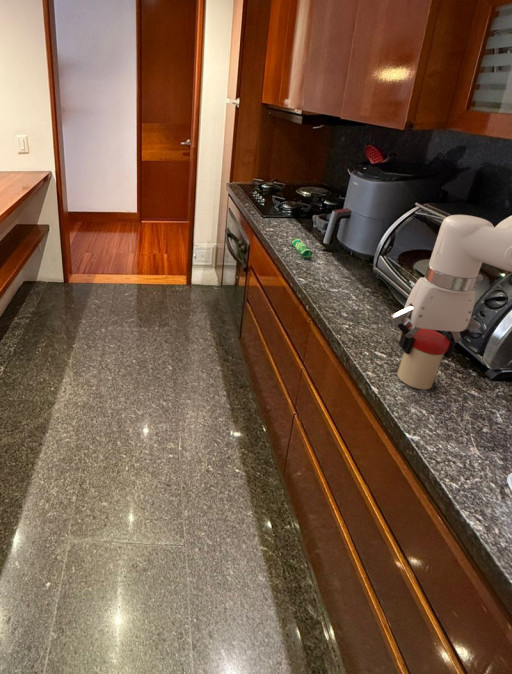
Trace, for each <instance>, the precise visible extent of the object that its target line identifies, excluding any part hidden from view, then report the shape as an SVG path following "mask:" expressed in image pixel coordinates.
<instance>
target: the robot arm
mask: <svg viewBox="0 0 512 674" xmlns="http://www.w3.org/2000/svg"><path fill="white" fill-rule="evenodd" d="M482 264H487V265H488V266H492V267H494V268H498V269H501V270H503V271H507V272H511V273H512V215H510V216H508V217H506V218H505V219H503V220H501V221H500V222H498V224H497V225H495V226H494V225H493V223H492V222H491V221H489V220H487V219H485V218H482V217H478V216H473V215H467V214H452V215H448V216H446V217H445V218H444V219H443V220H442V222H441V225H440V227H439V230H438V233H437V237H436V240H435V243H434V246H433V250H432V252H431V256H430V258H429V262H428V265H427V269H426V272H425V275H424V277H421V276H420V277H419V278H418V280H417V281H416V282H415V284H413V286H414V287H413V286H412V287H413V289H412V288H411V290H412V291H411V290H410V292H411V293H410V292H409V294H410V295H409V294H408V296H409V297H408V296H407V300H406V302H405V305H404V307H403V309H401V310H399V311H397V312H395V313H392V314H391V315H390V319H391V320H392V321H393V322H394V324H395V325H396V327H397V328H398V329H399V330H400V332H401V331H402V334H401V338H400V341H398V346H399V347H400V348H401V349H402V351H403V353H404V352H405V353H406V354H410V352H411V349H412V346H413V343H414V338H413V336H414V335H415V334H416V333H417V332H418V331H419V330H420V329H429V330H434V331H440V332H441V331H442V332H446V333H443V335H444V336H445V337H446V338H447V339H448V340H449V342H450V344H449V348H448V351H447V352H446V353H445V354H444V356H443V357H445V358H446V359H450V358H451V356H452V355H453V353H454V351H455V347H456V345H457V343H461V342H462V340H463V339H464V338H466V337H468V336H470V335H471V333H473V332H475V331H477V330H479V329H480V328H481V325H480V324H479V323H478V322H477V321H476V320H475V319H474V318H473V317H472V315H473V311H474V306H475V300H476V288H475V284H476V282H482V281H483V280H484V277H483V275H482V273H481V274H479V273H480V270H481V268H482V266H483V265H482ZM405 318H410V319H409V320H408V321H406V322H405V323H404V322H403V321H404V319H405ZM411 326H413V327H412V328H410V327H411ZM409 328H410V329H409Z"/></svg>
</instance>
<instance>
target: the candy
mask: <svg viewBox="0 0 512 674" xmlns="http://www.w3.org/2000/svg"><path fill="white" fill-rule="evenodd" d="M290 244H291V246H292V247H294V248H295V249H296V251H297V252H298V253H299V254H300V255H301V256H302V258H303V259H304V260H305V259H311V257H312V256H313V251H312V249H309V248H308V247H307V246H306V244H305V243H304V242H303V241H301V240H300V238H299V237H296V238H293V239H291V242H290Z"/></svg>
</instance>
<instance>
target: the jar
mask: <svg viewBox="0 0 512 674" xmlns="http://www.w3.org/2000/svg"><path fill="white" fill-rule="evenodd" d="M444 357H445V356H444V354H441V355H436V354H430V353H426V352H423V351H421V350H419V349H417V348H415V347H413V346H412V349H411V352H410V354H406V353H405V352H404V351H403V354H402V356H401V360H400V363H399V366H398V369H397V371H396V375H397V377H398V379H400V381H402V383H404V384H405V385H407V386H409V387H412V388H414V389H418V390H429V389H431V388H432V387H433V385H434V383H435V380H436V377H437V375H438V372H439V369H440V366H441V364H442V361H443V359H444Z"/></svg>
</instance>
